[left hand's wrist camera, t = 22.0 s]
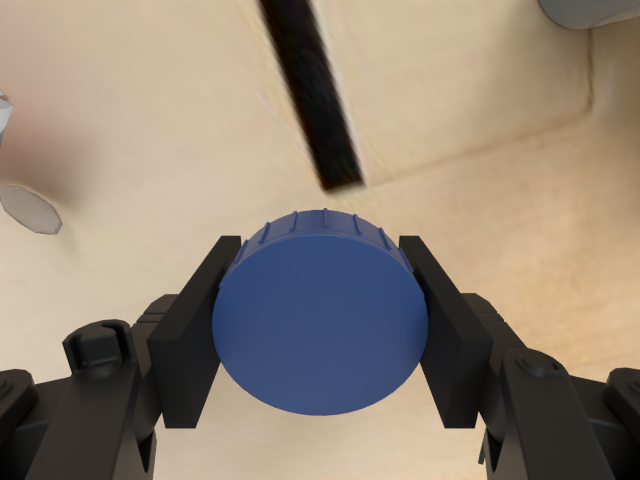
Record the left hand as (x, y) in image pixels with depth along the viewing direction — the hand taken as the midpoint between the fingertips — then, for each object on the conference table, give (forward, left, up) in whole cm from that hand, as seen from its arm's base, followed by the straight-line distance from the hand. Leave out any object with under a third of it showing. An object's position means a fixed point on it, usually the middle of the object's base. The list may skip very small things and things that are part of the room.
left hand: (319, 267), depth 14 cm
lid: (0, 0, +4) cm, 4 cm away
